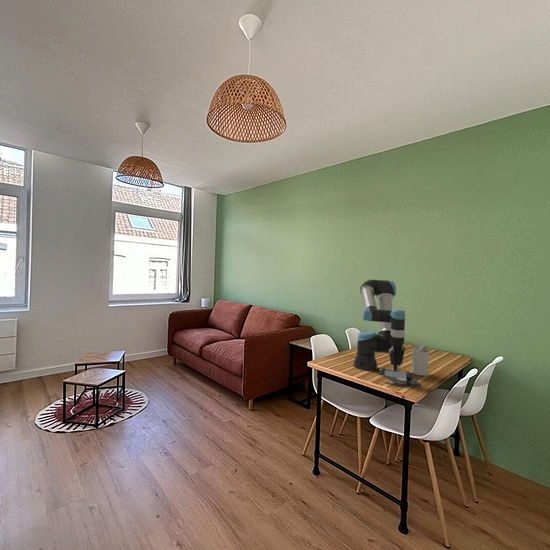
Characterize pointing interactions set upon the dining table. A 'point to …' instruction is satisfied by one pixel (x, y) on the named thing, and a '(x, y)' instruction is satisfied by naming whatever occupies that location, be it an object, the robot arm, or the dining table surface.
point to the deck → (403, 381)
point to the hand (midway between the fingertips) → (396, 376)
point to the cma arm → (396, 373)
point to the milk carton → (420, 360)
